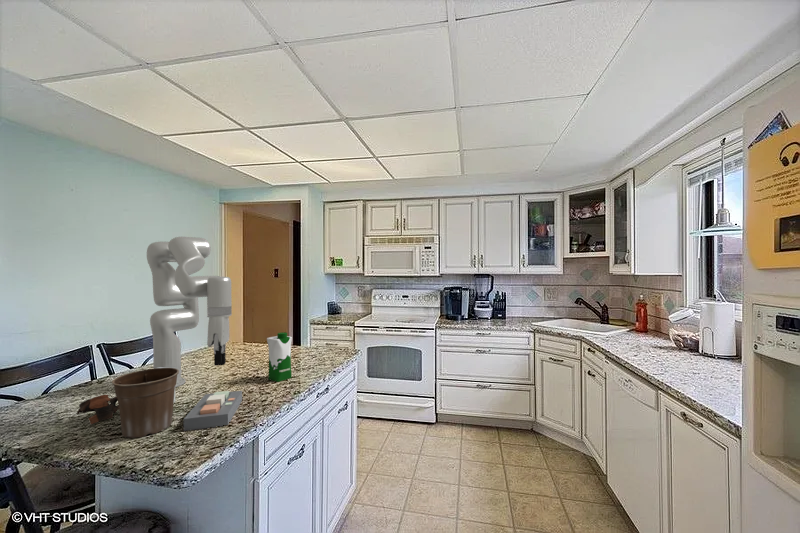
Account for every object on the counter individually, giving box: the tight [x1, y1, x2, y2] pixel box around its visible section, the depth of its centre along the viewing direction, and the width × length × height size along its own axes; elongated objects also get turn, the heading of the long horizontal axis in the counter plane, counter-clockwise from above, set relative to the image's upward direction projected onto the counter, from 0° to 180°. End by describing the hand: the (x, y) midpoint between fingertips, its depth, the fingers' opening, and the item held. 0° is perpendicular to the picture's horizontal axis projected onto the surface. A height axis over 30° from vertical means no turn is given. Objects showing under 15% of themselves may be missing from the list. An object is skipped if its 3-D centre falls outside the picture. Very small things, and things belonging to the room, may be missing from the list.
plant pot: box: [111, 367, 179, 439], centre depth 102 cm, size 16×16×16 cm
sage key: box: [214, 390, 230, 399], centre depth 118 cm, size 4×4×3 cm
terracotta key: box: [200, 404, 220, 415], centre depth 106 cm, size 4×4×3 cm
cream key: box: [206, 394, 225, 406], centre depth 112 cm, size 4×4×3 cm
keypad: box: [183, 390, 243, 431], centre depth 112 cm, size 21×12×4 cm, turn 14°
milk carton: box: [266, 331, 293, 383], centre depth 148 cm, size 9×9×20 cm
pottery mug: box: [76, 394, 119, 425], centre depth 112 cm, size 12×10×8 cm
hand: (220, 364), depth 118 cm, fingers closed
